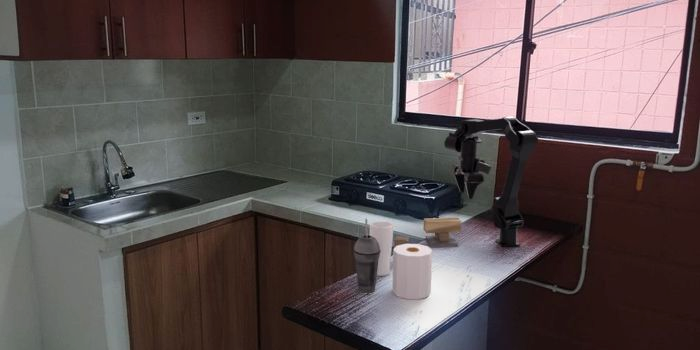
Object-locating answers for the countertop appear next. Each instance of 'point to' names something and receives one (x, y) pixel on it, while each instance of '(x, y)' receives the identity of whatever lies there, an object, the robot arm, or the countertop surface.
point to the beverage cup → (366, 262)
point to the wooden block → (401, 240)
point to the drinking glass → (383, 244)
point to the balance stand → (441, 240)
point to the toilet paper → (412, 271)
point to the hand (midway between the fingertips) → (466, 196)
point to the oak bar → (442, 225)
